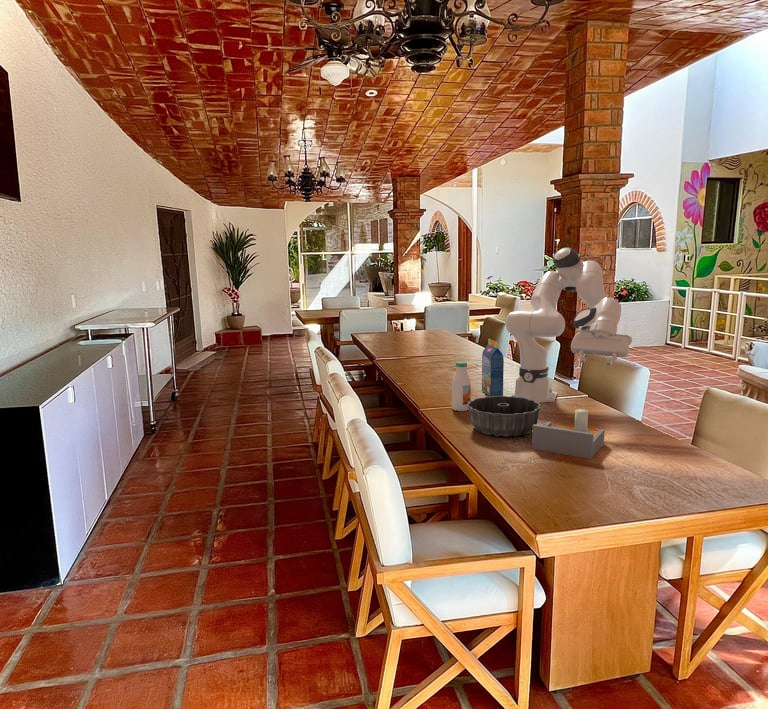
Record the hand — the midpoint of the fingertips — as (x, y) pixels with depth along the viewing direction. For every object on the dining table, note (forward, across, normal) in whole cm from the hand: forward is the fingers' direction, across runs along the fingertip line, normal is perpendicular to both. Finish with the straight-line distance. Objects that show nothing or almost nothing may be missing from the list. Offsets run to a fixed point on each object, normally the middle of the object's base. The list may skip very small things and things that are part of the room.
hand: (595, 363), depth 205 cm
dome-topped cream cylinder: (+25, +1, -9) cm, 26 cm away
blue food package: (-3, +51, -36) cm, 62 cm away
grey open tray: (+35, +2, +1) cm, 35 cm away
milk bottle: (+19, +52, -16) cm, 58 cm away
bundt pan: (+32, +27, -3) cm, 42 cm away
